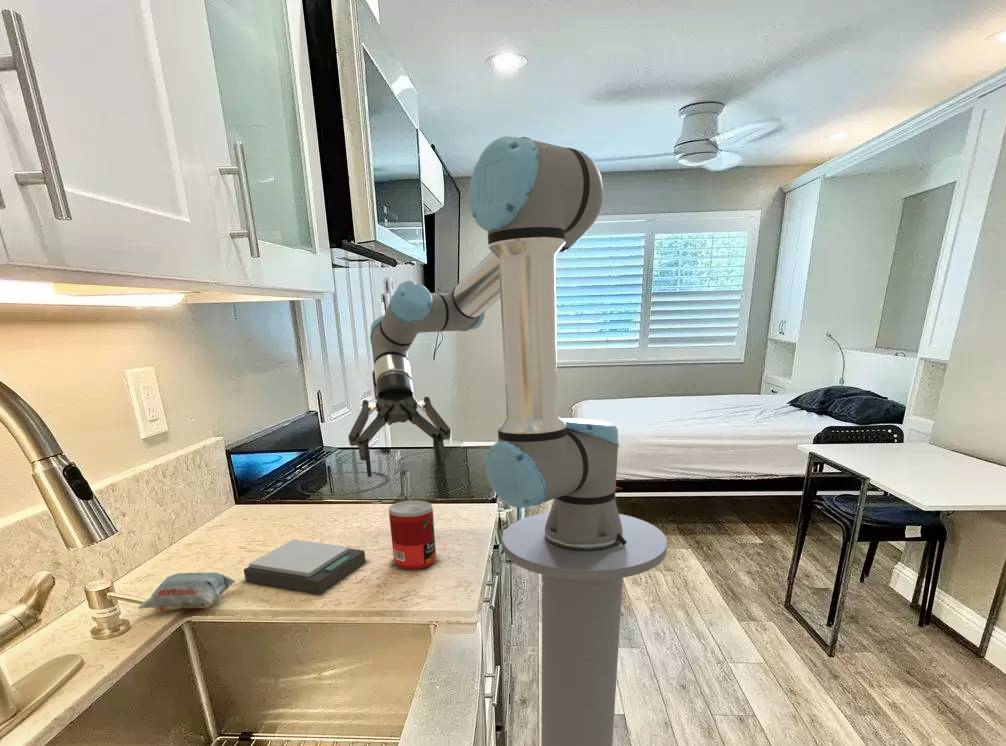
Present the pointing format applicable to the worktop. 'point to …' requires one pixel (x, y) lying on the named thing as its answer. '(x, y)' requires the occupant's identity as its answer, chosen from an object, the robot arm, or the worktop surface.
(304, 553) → the kitchen scale
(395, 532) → the canned food
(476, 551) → the worktop surface
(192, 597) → the packaged food
